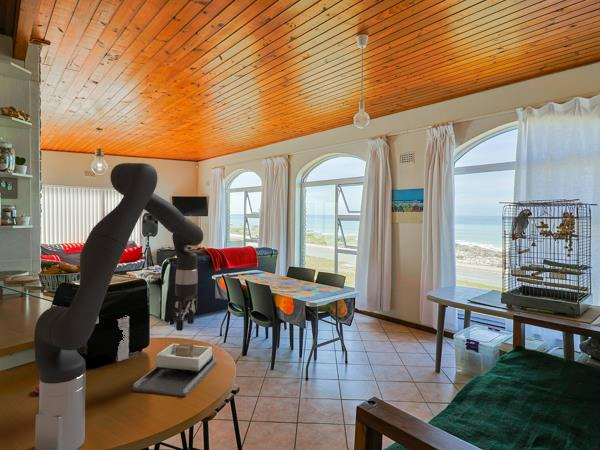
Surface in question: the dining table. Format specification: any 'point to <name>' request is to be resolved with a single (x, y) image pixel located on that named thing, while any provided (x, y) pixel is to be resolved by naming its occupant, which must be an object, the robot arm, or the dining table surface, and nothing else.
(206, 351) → the white box on tray
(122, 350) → the candy bar box
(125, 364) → the dining table surface
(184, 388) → the dark rimmed tray
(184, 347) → the light brown block
